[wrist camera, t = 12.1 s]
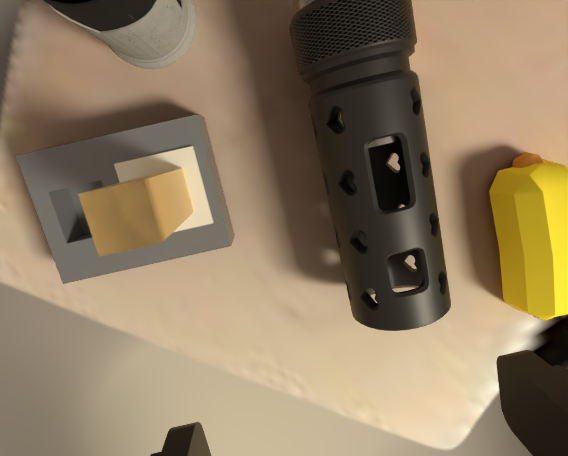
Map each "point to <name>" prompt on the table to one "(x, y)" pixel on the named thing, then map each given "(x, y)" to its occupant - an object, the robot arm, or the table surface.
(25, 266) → the table surface
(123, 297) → the table surface
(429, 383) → the table surface
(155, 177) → the plug
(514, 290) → the yellow banana
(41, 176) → the block
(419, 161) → the muzzle brake
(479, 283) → the table surface
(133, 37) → the white pitcher
